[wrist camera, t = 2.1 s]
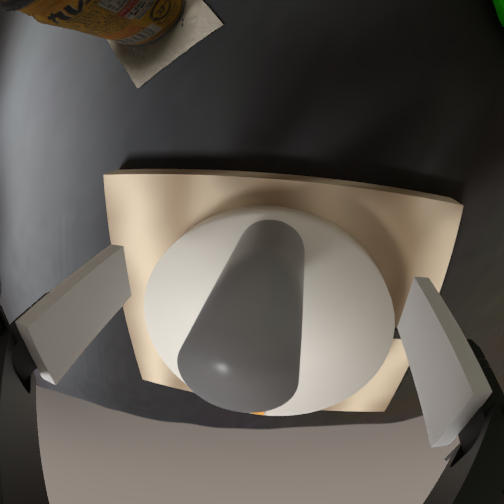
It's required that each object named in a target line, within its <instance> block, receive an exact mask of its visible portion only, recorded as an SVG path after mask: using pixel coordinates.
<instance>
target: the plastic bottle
mask: <svg viewBox="0 0 504 504" xmlns="http://www.w3.org/2000/svg"><path fill="white" fill-rule="evenodd" d="M492 1H493V4H494V7H495V10H496V12H497V15H498V18H499V21H500V23H501V24H502V26H503V27H504V0H492Z"/></svg>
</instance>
